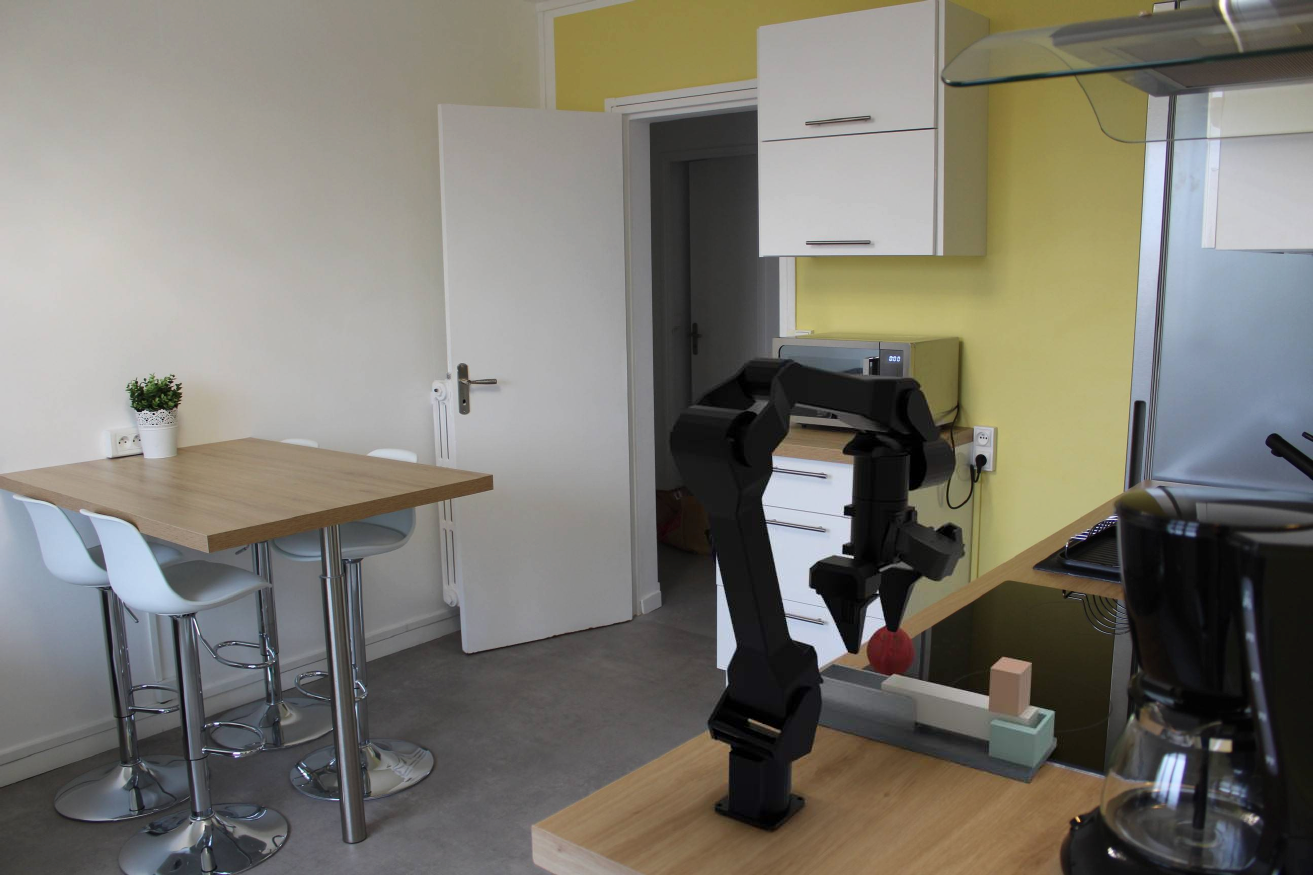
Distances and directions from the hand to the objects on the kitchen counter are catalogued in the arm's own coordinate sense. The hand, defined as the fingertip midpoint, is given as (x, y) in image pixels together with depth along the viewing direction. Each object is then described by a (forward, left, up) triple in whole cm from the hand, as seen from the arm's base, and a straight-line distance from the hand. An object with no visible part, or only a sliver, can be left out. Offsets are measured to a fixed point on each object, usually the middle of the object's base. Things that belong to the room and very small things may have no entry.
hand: (873, 642), depth 106 cm
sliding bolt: (+7, -7, -10) cm, 14 cm away
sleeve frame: (+7, -3, -12) cm, 14 cm away
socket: (+7, -14, -12) cm, 19 cm away
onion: (+19, +6, -12) cm, 23 cm away
